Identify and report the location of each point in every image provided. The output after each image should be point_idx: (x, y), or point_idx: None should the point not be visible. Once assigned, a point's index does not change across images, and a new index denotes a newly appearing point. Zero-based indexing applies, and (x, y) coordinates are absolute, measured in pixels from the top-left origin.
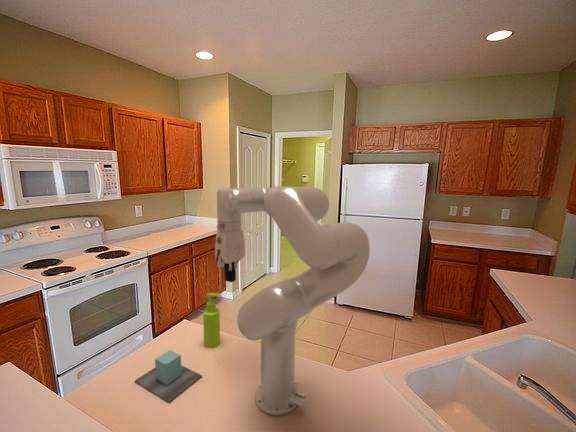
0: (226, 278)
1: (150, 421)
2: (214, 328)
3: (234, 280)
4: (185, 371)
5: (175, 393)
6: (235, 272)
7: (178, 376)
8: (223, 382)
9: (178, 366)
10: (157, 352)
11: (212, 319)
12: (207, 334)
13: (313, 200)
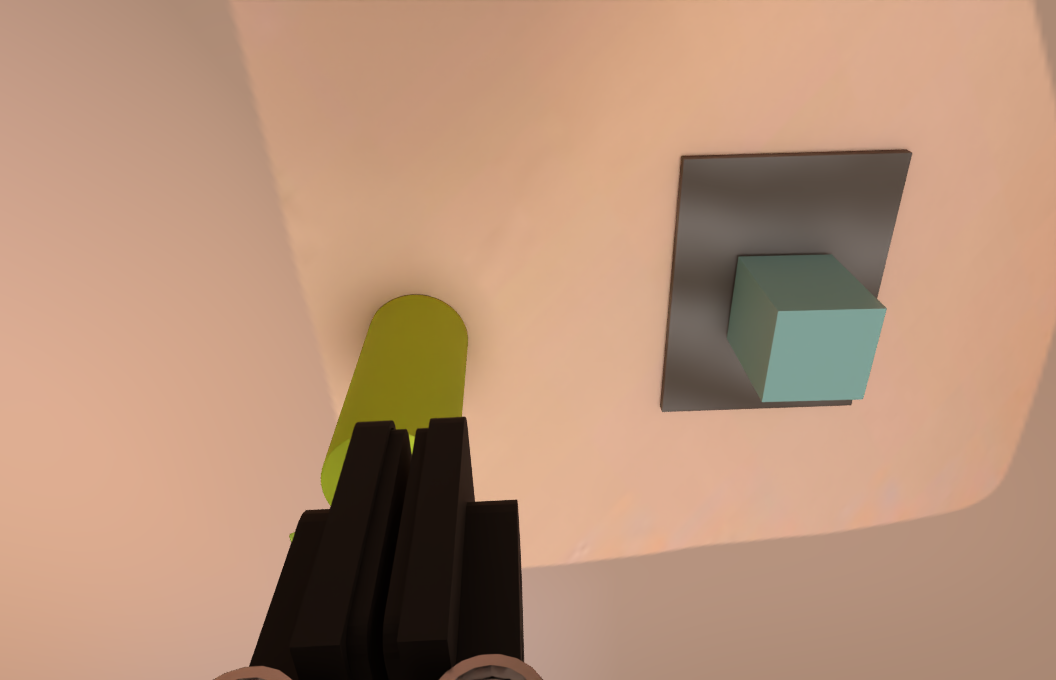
0: (520, 561)
1: (1024, 131)
2: (423, 366)
3: (389, 428)
4: (700, 263)
5: (854, 171)
6: (317, 563)
7: (759, 256)
8: (658, 2)
9: (776, 281)
10: (640, 495)
11: (429, 415)
12: (461, 375)
13: None
